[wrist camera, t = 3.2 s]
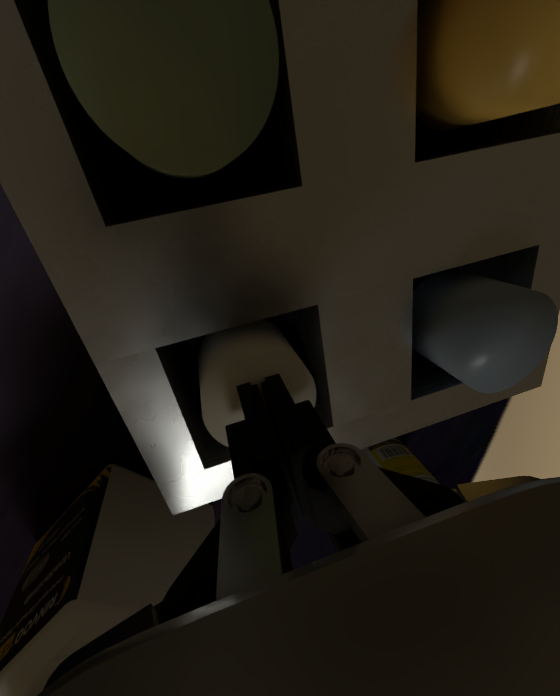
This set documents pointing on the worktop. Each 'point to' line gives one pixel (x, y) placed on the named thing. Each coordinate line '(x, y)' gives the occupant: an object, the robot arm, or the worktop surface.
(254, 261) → the panel
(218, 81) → the sage button
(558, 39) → the amber rounded lump
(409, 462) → the supplement bottle
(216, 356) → the ivory button
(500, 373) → the slate button
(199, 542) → the medicine bottle
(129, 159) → the worktop surface
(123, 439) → the worktop surface
